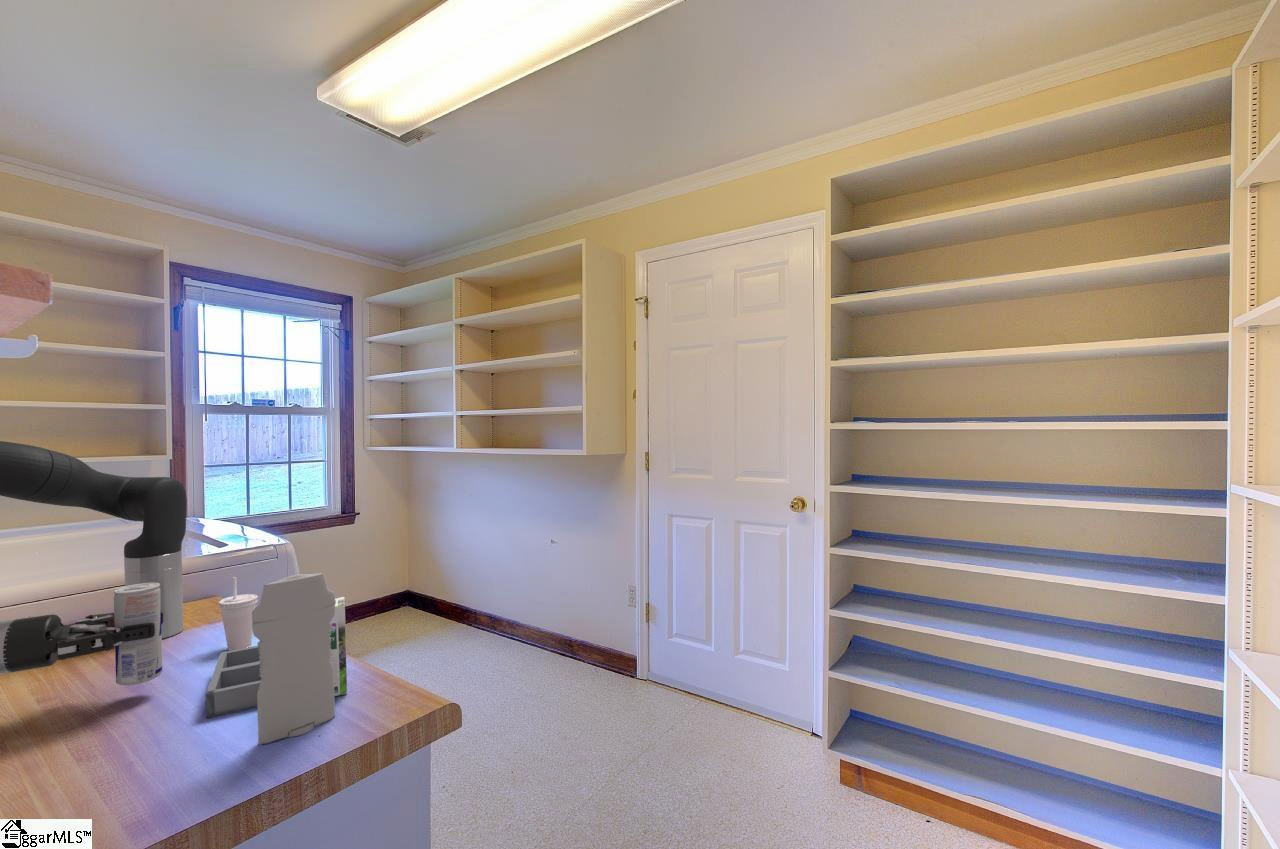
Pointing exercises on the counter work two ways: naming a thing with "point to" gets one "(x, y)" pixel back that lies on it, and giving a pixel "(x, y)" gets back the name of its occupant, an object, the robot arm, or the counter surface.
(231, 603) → the smoothie
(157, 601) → the beverage can
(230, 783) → the counter surface
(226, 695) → the gray divided tray
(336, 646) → the syrup box
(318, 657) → the grey flat bottle
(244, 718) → the counter surface
